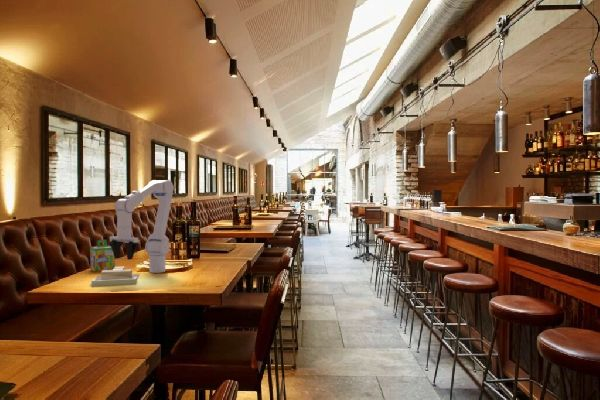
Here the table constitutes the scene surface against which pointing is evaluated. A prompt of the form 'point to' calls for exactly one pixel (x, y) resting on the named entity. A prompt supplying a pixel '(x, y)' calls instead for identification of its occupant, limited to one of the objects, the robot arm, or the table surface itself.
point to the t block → (116, 274)
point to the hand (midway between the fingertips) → (123, 258)
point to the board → (122, 284)
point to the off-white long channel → (114, 282)
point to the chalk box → (101, 257)
